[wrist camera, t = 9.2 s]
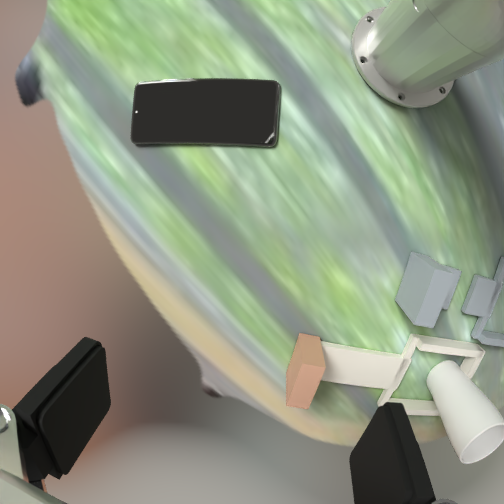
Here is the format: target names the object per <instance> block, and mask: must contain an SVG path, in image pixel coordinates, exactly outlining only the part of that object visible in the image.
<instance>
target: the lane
mask: <svg viewBox="0 0 504 504" xmlns="http://www.w3.org/2000/svg"><path fill="white" fill-rule="evenodd" d="M416 346H417V347H418V349H419V350H420V351H427V352H435V353H442V354H450V355H458V356H466V357H465V359H464V360H463V362H462V364H461V366H460V368H461V369H462V371H463V372H464V373H465V374H466V375H467V376H468V377H469V378H470V379H471V378H472V377H473V375H474V373H475V371H476V369H477V368H478V366H479V364H480V362H481V360H482V358H483V356H484V354H485V351H484V350H483V349H482V347H481V346H480V345H479V344H477V343H470V342H463V341H457V340H450V339H444V338H437V337H431V336H425V335H419V334H413V333H411V334H410V336H409V339H408V341H407V343H406V345H405V348H404V350H403V352H402V354H395V353H388V352H381V351H375V350H369V349H363V348H357V347H351V346H345V345H340V344H334V343H329V342H324V341H320V337H317V336H312V335H307V334H302V333H299V336H298V339H297V342H296V345H295V348H294V351H293V354H292V357H291V360H290V363H289V366H288V369H287V372H286V406H290V407H297V408H303V409H308V408H309V406H310V404H311V402H312V399H313V397H314V395H315V393H316V390H317V388H318V385H319V383H320V381H321V380H323V381H329V382H336V383H342V384H350V385H357V386H365V387H373V388H382V389H384V390H383V392H382V394H381V396H380V398H379V399H378V401H377V404H378V406H383V405H384V403H386V402H396V403H402V404H403V405H404V408H405V411H406V413H407V415H426V416H440V414H439V412H438V409H437V407H436V404H435V402H434V401H428V400H411V399H398V398H390V397H391V395H392V393H393V392H394V390H397V388H398V386H399V384H400V382H401V380H402V378H403V376H404V374H405V373H406V371H407V369H408V367H409V365H410V363H411V361H412V359H411V356H412V354H413V352H414V350H415V348H416Z"/></svg>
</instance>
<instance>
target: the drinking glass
mask: <svg viewBox="0 0 504 504" xmlns="http://www.w3.org/2000/svg"><path fill="white" fill-rule="evenodd" d="M426 383H427V387H428V389H429V391H430V393H431V395H432V397H433V399H434V402H435V404H436V407H437V409H438V412H439V414H440V417H441V420H442V422H443V425H444V428H445V430H446V433H447V436H448V438H449V440H450V443H451V444H452V447H453V449H454V451H455V453H456V454H457V456H458V458H459V460H460V461H461V462H462V463H464V464H471V463H475V462H477V461H479V460H481V459H483V458H485V457H487V456H488V455H489V454H491V453H492V452H493V451H494V450H495V449H496V448H497V447H498V446H499V445H500V444H501V443H502V442H503V440H504V418H503V417H502V415H501V414H500V412H499V411H498V409H497V408H496V407H495V405H494V404H493V403H492V402H491V401H490V399H489V398H488V397H487V396H486V395H485V394H484V393H483V392H482V391H481V390H480V389H479V388H478V387H477V385H476V384H475V383H474V382H473V381H472V380H471V379H470V378H469V377H468V376H467V375H466V374H465V373H464V372H463V371H462V369H461V368H460V367H459V366H458V364H457V363H456V362H454V361H451V360H446V361H442V362H440V363H438V364H437V365H435V366H434V367H433V368H432V369H431V371H430V372H429V374H428V376H427V380H426Z"/></svg>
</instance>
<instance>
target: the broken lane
mask: <svg viewBox="0 0 504 504" xmlns="http://www.w3.org/2000/svg"><path fill="white" fill-rule="evenodd" d="M461 272H462V271H460V270H459V269H456V268H453V267H449V266H446V265H442V264H439V263H438V262H437V261H435V260H434V259H432V258H431V257H429V256H426V255H422V254H419V253H415V252H412V251H411V254H410V258H409V261H408V264H407V267H406V270H405V273H404V276H403V279H402V281H401V284H400V287H399V290H398V293H397V295H396V298H395V301H396V302H397V303H398V305H399V306H400V307H401V309H402V310H403V311H404V312H405V314H406V315H407V316H408V318H409V319H410V320H411V322H412V323H413V324H414V325H418V326H423V327H429V328H433V327H434V325H435V323H436V320H437V318H438V316H439V313H440V311H441V309H446V310H447V309H448V307H449V304H450V302H451V299H452V297H453V294H454V291H455V289H456V286H457V283H458V281H459V278H460V275H461ZM503 279H504V257H502V256H501V259H500V262H499V265H498V268H497V271H496V274H495V276H494V279H490V278H487V277H484V276H480V275H477V274H475V275H474V277H473V280H472V283H471V286H470V288H469V291H468V294H467V296H466V299H465V301H464V304H463V306H462V309H461V311H462V312H464V313H465V314H470V315H475V316H479V317H478V320H477V322H476V324H475V327H474V329H473V331H472V333H471V336H472V337H473V338H474V339H478V340H479V341H480V342H481V343H482V344H486V345H493V346H501V347H504V334H502V333H496V332H490V331H484V330H483V329H484V327H485V324H486V322H487V320H488V318H490V316H491V314H492V312H493V309H494V307H495V304H496V302H497V299H498V297H499V294H500V292H501V289H502V286H503V283H502V282H503Z"/></svg>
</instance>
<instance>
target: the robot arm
mask: <svg viewBox="0 0 504 504" xmlns="http://www.w3.org/2000/svg"><path fill="white" fill-rule="evenodd" d="M368 21H369V22H368ZM351 51H352V55H353V59H354V62H355V65H356V67H357V69H358V71H359V73H360V74H361V76H362V77H363V79H364V80H365V81H366V82H367V84H368V85H369V86H370V87H371V88H372V89H373V90H374V91H376V92H377V93H378V94H379V95H380V96H382V97H383V98H385V99H387V100H388V101H390V102H392V103H395V104H397V105H400V106H404V107H408V108H424V107H429V106H431V105H434V104H436V103H438V102H440V101H441V100H443V99H444V98H445V97H446V96H447V95H448V94H449V92H450V90H451V88H452V86H453V83H454V80H455V79H457V78H460V77H462V76H464V75H467V74H469V73H471V72H474V71H476V70H479V69H481V68H483V67H486V66H488V65H491V64H493V63H496V62H498V61H501V60H503V59H504V0H391V1H390V2H389V4H388V5H387V7H380V8H377V9H373V10H371V11H370V12H368V13H366V14H365V15H364V16H363V17H362V18H361V19H360V20H359V22H358V23H357V25H356V27H355V29H354V31H353V34H352V39H351ZM360 60H362V61H363V62H364V64H363V63H361V62H360ZM439 90H440V91H439ZM440 92H441V93H440ZM398 96H399V97H400V98H401V100H399V98H398ZM110 405H111V399H110V392H109V383H108V374H107V364H106V352H105V348H103V347H102V345H101V343H100V342H99V341H96V340H93V339H90V338H87V337H84V338H83V339H82V340H81V341H80V342H79V343H78V344H77V345H76V346H75V347H74V348H73V349H72V350H71V351H70V352H69V353H68V354H67V355H66V356H65V357H64V358H63V359H62V360H61V361H60V362H59V363H58V364H57V365H55V366H54V367H52V368H51V370H49V371H48V372H47V373H46V375H45V376H44V377H43V378H42V379H41V380H40V381H39V382H38V383H37V384H36V385H35V386H34V387H33V388H32V389H31V390H30V391H29V392H28V393H27V394H26V395H25V396H24V398H23V399H22V400H21V401H20V402H19V403H18V404H17V405H16V406H15V407H14V408H13V409H12V410H11V409H10V408H8V407H7V406H5V405H2V404H0V504H67V503H65V502H63V501H61V500H59V499H57V498H55V497H53V496H51V495H50V494H48V493H47V489H46V485H45V481H44V479H45V478H46V476H47V475H48V474H50V475H52V476H54V477H56V478H57V479H60V478H61V476H62V475H63V474H64V475H66V474H68V473H69V471H70V470H71V468H72V467H73V465H74V463H75V462H76V460H77V458H78V457H79V456H80V454H81V452H82V451H83V449H84V448H85V446H86V444H87V443H88V441H89V440H90V438H91V437H92V435H93V434H94V432H95V431H96V429H97V427H98V426H99V424H100V423H101V421H102V420H103V418H104V417H105V415H106V414H107V412H108V411H109V408H110ZM350 469H351V476H352V485H353V494H354V503H355V504H457V503H455V502H454V501H452V500H449V499H439V500H436V498H435V495H434V492H433V488H432V485H431V482H430V478H429V475H428V472H427V469H426V466H425V463H424V460H423V457H422V454H421V451H420V448H419V445H418V443H417V441H416V438H415V436H414V433H413V430H412V427H411V424H410V421H409V419H408V416H407V413H406V411H405V408H404V405H403V404H402V403H396V402H386V403H384V405H383V406H379V407H378V409H377V411H376V413H375V414H374V416H373V418H372V420H371V421H370V423H369V425H368V426H367V428H366V430H365V431H364V433H363V435H362V436H361V438H360V440H359V441H358V443H357V445H356V446H355V448H354V449H353V451H352V452H351V455H350Z"/></svg>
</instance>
